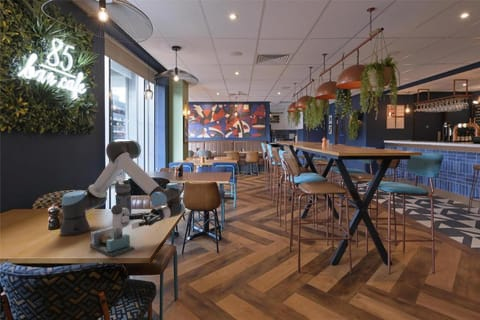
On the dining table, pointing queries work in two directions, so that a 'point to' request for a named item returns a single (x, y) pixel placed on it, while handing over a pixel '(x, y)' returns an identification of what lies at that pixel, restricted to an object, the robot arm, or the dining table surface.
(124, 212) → the donut
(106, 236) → the walnut
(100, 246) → the nutcracker base
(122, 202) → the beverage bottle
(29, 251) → the dining table surface
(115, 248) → the jaw
